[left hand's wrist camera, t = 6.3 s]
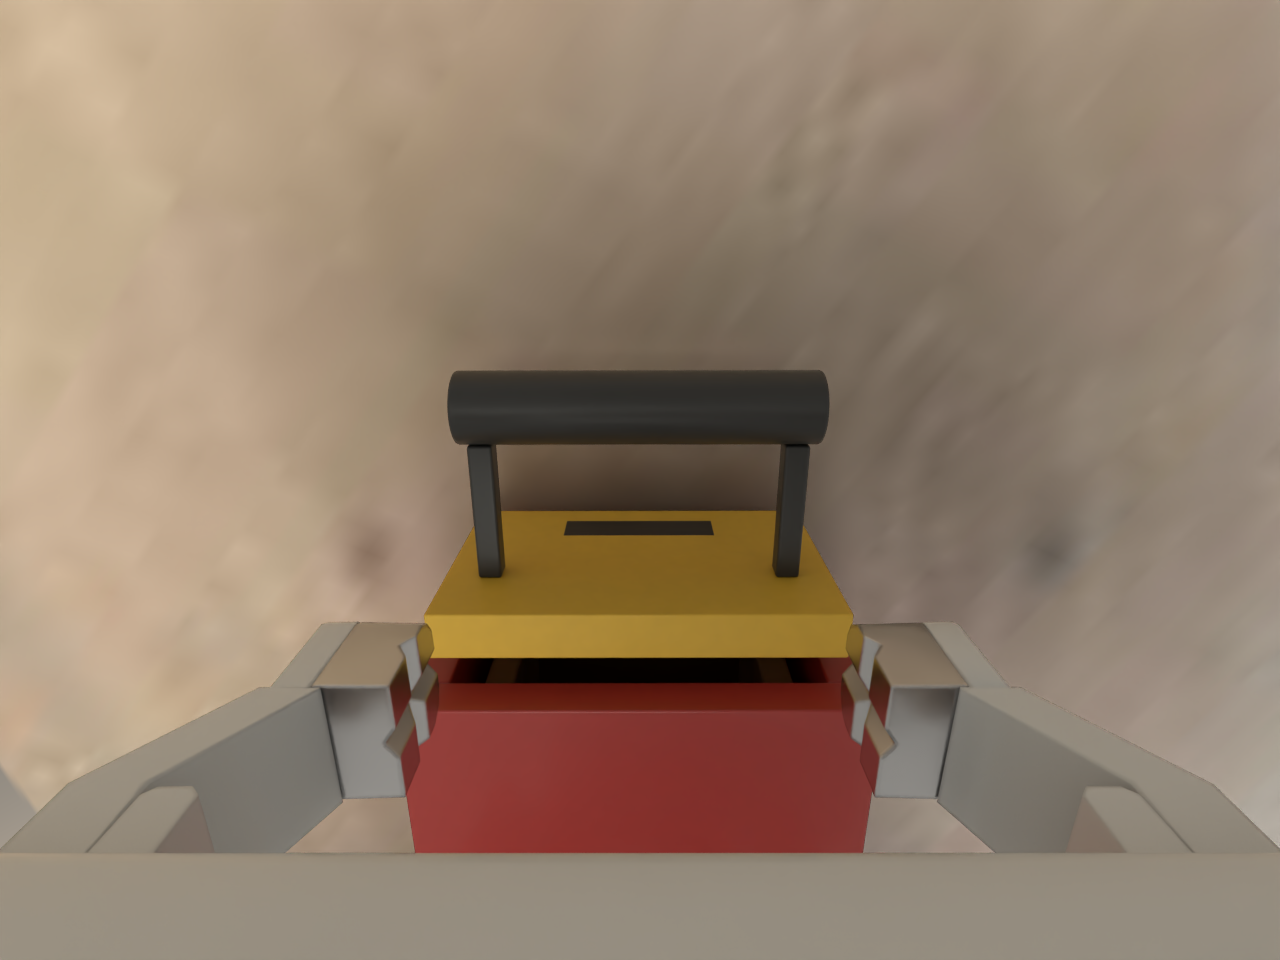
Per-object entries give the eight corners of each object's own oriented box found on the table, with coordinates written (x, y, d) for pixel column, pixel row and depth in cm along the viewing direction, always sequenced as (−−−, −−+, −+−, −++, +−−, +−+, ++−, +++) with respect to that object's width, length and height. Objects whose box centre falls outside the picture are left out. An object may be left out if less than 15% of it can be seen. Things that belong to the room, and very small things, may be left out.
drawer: (467, 343, 20) (393, 390, 14) (810, 343, 20) (882, 390, 14) (516, 901, 27) (483, 1084, 22) (762, 901, 27) (795, 1083, 22)
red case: (475, 549, 23) (391, 710, 15) (802, 548, 23) (885, 710, 15) (511, 933, 30) (466, 1184, 22) (767, 933, 30) (813, 1184, 22)
